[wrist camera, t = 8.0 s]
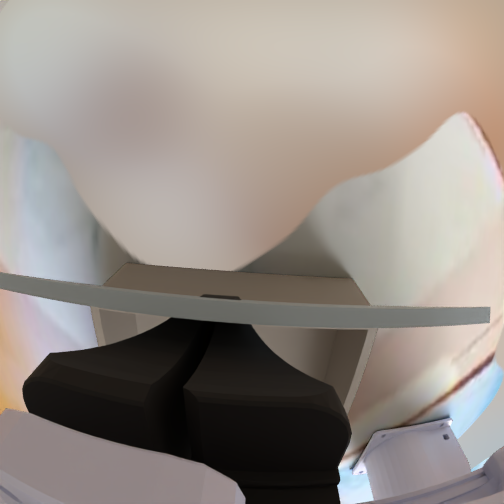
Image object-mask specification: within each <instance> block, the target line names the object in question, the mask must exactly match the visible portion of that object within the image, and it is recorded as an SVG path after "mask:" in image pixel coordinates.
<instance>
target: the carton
mask: <svg viewBox="0 0 504 504" xmlns="http://www.w3.org/2000/svg"><path fill="white" fill-rule="evenodd" d="M102 286H106V287H114V288H122V289H131V290H140V291H149V292H159V293H168V294H179V295H190V296H202V295H203V294H211V295H225V296H238V297H239V298H240V299H241V300H254V301H270V302H287V303H308V304H332V305H367V306H370V304H369V302H368V301H367V299H366V298H365V296H364V295H363V293H362V292H361V290H360V289H359V287H358V286H357V285H356V283H355V282H354V280H353V279H348V278H329V277H311V276H294V275H278V274H263V273H248V272H233V271H219V270H206V269H192V268H180V267H168V266H167V267H166V266H155V265H144V264H132V263H126V264H125V265H123V266H122V267H121V268H120V269H119V270H118V271H117V272H116V273H115V274H114V275H113V276H112V277H111V278H110V279H109V280H108V281H107V282H106V283H104V284H103V285H102ZM90 308H91V313H92V318H93V323H94V328H95V333H96V337H97V342H98V346H99V347H100V346H105V345H109V344H112V343H116V342H119V341H122V340H125V339H127V338H130V337H133V336H136V335H139V334H141V333H143V332H145V331H147V330H150V329H152V328H154V327H156V326H158V325H159V324H161V323H163V322H164V321H166V320H168V319H169V318H171V317H165V316H157V315H149V314H141V313H133V312H126V311H119V310H112V309H105V308H99V307H93V306H90ZM251 325H252V326H253V328H254V329H255V331H256V332H257V334H258V335H259V336H260V338H261V339H262V340H263V341H264V343H265V344H266V345H267V346H268V347H269V348H270V349H271V350H272V351H273V352H274V353H275V354H277V355H278V356H279V357H280V358H282V359H283V360H284V361H286V362H287V363H288V364H290V365H291V366H293V367H294V368H296V369H298V370H300V371H301V372H303V373H305V374H306V375H308V376H310V377H313V378H315V379H317V380H319V381H322V382H324V383H326V384H329V385H331V386H333V387H334V389H335V391H336V393H337V395H338V397H339V398H340V400H341V403H342V405H343V407H344V409H345V411H346V413H347V416H348V413H349V411H350V408H351V406H352V403H353V401H354V398H355V395H356V393H357V390H358V387H359V385H360V382H361V379H362V376H363V374H364V371H365V368H366V365H367V362H368V359H369V356H370V353H371V350H372V346H373V343H374V340H375V337H376V333H377V330H378V328H326V327H294V326H273V325H256V324H251Z"/></svg>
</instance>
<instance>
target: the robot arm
mask: <svg viewBox="0 0 504 504" xmlns="http://www.w3.org/2000/svg"><path fill="white" fill-rule="evenodd" d="M200 297H205V298H217V299H229V300H241V299H240V298H239V297H238V296H225V295H211V294H203V295H202V296H200ZM22 391H23V399H24V402H25V404H26V407H27V409H28V411H29V413H28V412H23V411H19V410H14V409H8V408H6V409H5V410H4V411H3V413H2V414H1V415H0V504H340V498H339V493H338V488H337V485H338V484H339V482H340V475H339V470H338V466H339V464H340V462H341V460H342V458H343V456H344V454H345V451H346V449H347V447H348V445H349V443H350V438H351V434H352V432H351V428H350V423H349V419H348V416H347V413H346V411H345V409H344V407H343V405H342V403H341V400H340V398H339V397H338V395H337V393H336V391H335V389H334V387H333V386H331V385H329V384H326V383H324V382H322V381H319V380H317V379H315V378H313V377H310V376H308V375H306V374H305V373H303V372H301V371H300V370H298V369H296V368H294V367H293V366H291V365H290V364H288V363H287V362H286V361H284V360H283V359H282V358H280V357H279V356H278V355H277V354H275V353H274V352H273V351H272V350H271V349H270V348H269V347H268V346H267V345H266V344H265V343H264V341H263V340H262V339H261V338H260V336H259V335H258V334H257V332H256V331H255V329H254V328H253V326H252V325H251V324H241V323H228V322H215V321H204V320H194V319H184V318H174V317H171V318H169V319H168V320H166V321H164V322H163V323H161V324H159V325H158V326H156V327H154V328H152V329H150V330H147V331H145V332H143V333H141V334H139V335H136V336H133V337H130V338H127V339H125V340H122V341H119V342H116V343H112V344H109V345H105V346H100V347H96V348H91V349H85V350H78V351H68V352H58V353H50V354H49V355H48V356H47V357H46V358H45V359H44V360H43V361H42V362H41V364H40V365H39V366H38V367H37V368H36V369H35V370H34V371H33V373H32V374H31V375H30V376H29V377H28V378H27V380H26V381H25V382H24V385H23V388H22ZM452 421H453V420H452V418H447V419H443V420H439V421H434V422H429V423H424V424H419V425H414V426H408V427H402V428H396V429H389V430H382V431H377V432H375V433H374V434H373V436H372V437H371V439H370V441H369V443H368V445H367V447H366V448H365V450H364V452H363V453H362V455H361V457H360V459H359V460H358V462H357V464H356V465H355V467H354V469H353V470H352V474H353V475H359V474H366V473H367V475H368V478H369V482H370V486H371V490H372V494H373V498H374V501H369V502H364V503H357V504H504V446H503V447H502V448H500V449H499V450H497V451H496V452H495V453H493V455H492V456H491V457H490V458H489V459H488V460H487V461H486V463H485V464H484V466H483V467H482V468H480V469H478V470H475V471H473V472H471V469H470V465H469V462H468V460H467V458H466V456H465V454H464V452H463V450H462V449H461V447H460V445H459V443H458V441H457V439H456V437H455V435H454V433H453V431H452V430H451V428H450V425H451V423H452Z"/></svg>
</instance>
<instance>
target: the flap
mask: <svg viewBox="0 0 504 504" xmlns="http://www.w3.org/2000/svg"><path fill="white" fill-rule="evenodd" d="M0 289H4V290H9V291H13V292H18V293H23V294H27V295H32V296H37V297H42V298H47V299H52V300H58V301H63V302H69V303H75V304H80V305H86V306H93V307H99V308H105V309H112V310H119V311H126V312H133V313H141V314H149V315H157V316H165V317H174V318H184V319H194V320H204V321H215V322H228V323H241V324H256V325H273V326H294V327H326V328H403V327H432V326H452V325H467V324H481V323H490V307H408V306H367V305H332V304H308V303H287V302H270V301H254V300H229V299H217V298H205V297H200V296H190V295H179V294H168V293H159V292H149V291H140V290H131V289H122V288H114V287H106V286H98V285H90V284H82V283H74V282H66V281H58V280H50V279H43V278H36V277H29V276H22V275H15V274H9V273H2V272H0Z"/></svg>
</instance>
